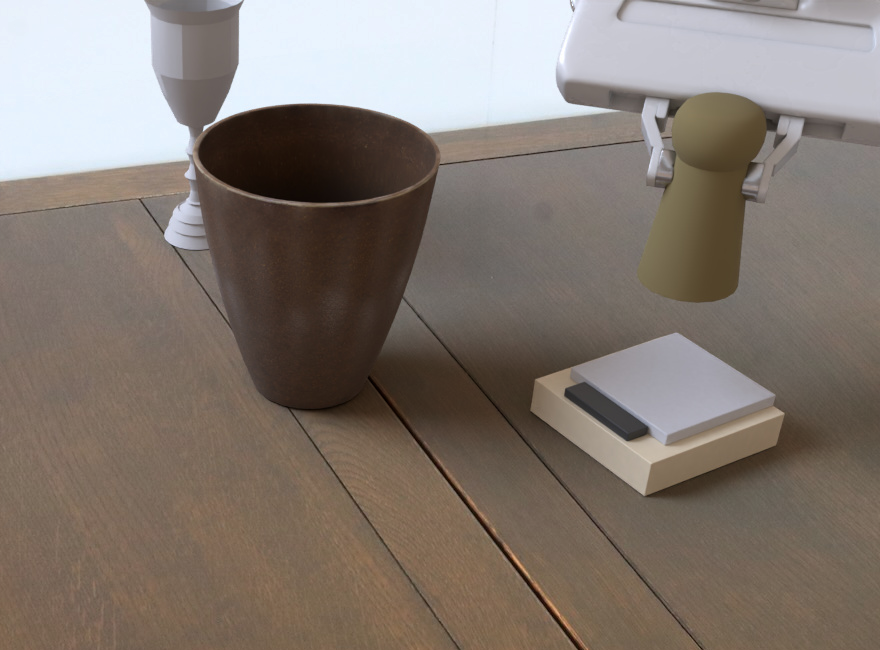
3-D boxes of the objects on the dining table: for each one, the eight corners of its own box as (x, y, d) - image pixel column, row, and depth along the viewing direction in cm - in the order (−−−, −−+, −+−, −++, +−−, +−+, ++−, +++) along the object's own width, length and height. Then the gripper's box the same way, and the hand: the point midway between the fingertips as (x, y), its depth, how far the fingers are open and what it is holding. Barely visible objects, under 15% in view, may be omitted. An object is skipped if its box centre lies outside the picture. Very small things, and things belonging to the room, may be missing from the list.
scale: (657, 366, 107) (666, 324, 104) (776, 445, 99) (788, 402, 97) (529, 411, 102) (536, 368, 100) (644, 496, 95) (653, 452, 93)
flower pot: (158, 353, 107) (151, 126, 97) (347, 305, 113) (359, 85, 102) (260, 465, 97) (265, 225, 87) (462, 406, 103) (489, 173, 92)
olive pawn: (733, 309, 92) (776, 128, 85) (629, 292, 94) (663, 113, 87) (742, 263, 97) (784, 87, 90) (644, 248, 98) (677, 74, 91)
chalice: (226, 208, 124) (226, -27, 112) (257, 246, 119) (261, 4, 108) (138, 223, 122) (129, -15, 110) (166, 261, 117) (160, 17, 106)
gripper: (581, -85, 91) (525, 143, 91) (953, -44, 86) (896, 198, 86) (583, -29, 97) (531, 184, 97) (930, 12, 92) (877, 238, 92)
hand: (705, 191), depth 91 cm, fingers closed on olive pawn, 4 cm apart
